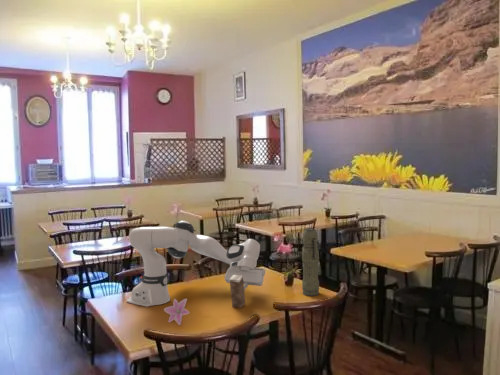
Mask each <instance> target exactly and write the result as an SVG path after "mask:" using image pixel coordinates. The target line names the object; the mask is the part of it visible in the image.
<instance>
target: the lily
mask: <svg viewBox="0 0 500 375" xmlns="http://www.w3.org/2000/svg"><path fill="white" fill-rule="evenodd" d="M187 301H188V298H184V299H182V300H180V301H178V300H177V299H176V298H174V299H173V303H172V304H173V305H170V306H167V307H164V309H163V311H164V312H165V313H166V314H168V315H169V317H168V321H167V322H169V323H171V322H173V321H175V322H176V323H177V324H178V326H180V325H181V324H182V320H183V316H185V315H188V314H190V311H189V310H188V309H187V308H185V307H186V304H187Z"/></svg>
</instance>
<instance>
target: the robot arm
mask: <svg viewBox="0 0 500 375" xmlns="http://www.w3.org/2000/svg"><path fill="white" fill-rule="evenodd" d="M195 232H196V230H195V228H194V226H193V224H192V223H190V222H189V221H187V220H179V221H176V223H175V224H174V227H172V226H171V227H170V226H140V227H134V228H132V229H131V230H130V232H129V234H128V242H129V244H130V246H131V247H132V248H134V249H135V250H136V251H138V253H139V254H140V256H141V258H142V261H143V271H144V274H142V275H141V276H140V278H139V279H140V280H141V281H140V282H139V283H138V284H137V285H136V286H134V287H133V288H132V290H131V294H130V296H129V297H127V299H126V303H129V304H133V305H138V306H143V307H152V306H158V305H163V304H166V303H168V302H170V301H171V296H170V294H169V293H170V292H169V288H168V272H167V261H166V258H165V256H164V255H162V254H160V253H158V252H157V251H156V250H155V249H166V250H167V252H168V254H169V255H170V256H172V257H173V258H174V259H182V258H185V257H186V255H187V254H188V249H189V248H190V249H191V250H192V251H193V252H196V254H197V253H198V254H200V255H203V256H205V257H209V258H213V259H214V260H218V261H220V262H223V263H225V264H227V265H229V267H228V268H227V270H226V273H225V275H224V281H225V282H226V283H228V284H230V278H231V277H232V276H233V275H241V276H243V284H244V291H246V289H247V288H248V286H256V287H257V286H258V287H262V285H263V284H264V276H265V275H266V270H265V268H262V267H261V268H259V267H257V260H258V259H259V257H260V250H261V245H260V243H259V241H257V240H256V239H253V238H247V239H246V240H245V241H244V242H242V243H239V244H233V245H230V246H229V247H228V249H226V248H224V246H223V244H221V243H220V242H219V241H218V240H216V238H214V237H211V236H208V235H203V234H196V233H195Z"/></svg>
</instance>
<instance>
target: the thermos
mask: <svg viewBox="0 0 500 375" xmlns="http://www.w3.org/2000/svg"><path fill="white" fill-rule="evenodd" d="M302 238H303V239H302V241H303V242H302V244H303V245H302V252H301V254H302V255H301V261H302V267H303V270H302V273H303V276H302V278H303V279H302V284H301V285H302V287H301V288H302V295H304V296H307V297H316V296H318V295H319V294H320V292H319V290H320V281H319V262H320V259H319V258H320V255H319V254H320V252H319V249H318V248H319V247H318V246H319V245H318V232H317V229H315V228H312V227H311V228H310V227H309V228H308V227H307V228H306V229H304V231H303V234H302Z"/></svg>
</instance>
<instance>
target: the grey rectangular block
mask: <svg viewBox="0 0 500 375" xmlns="http://www.w3.org/2000/svg"><path fill="white" fill-rule="evenodd" d="M229 286H230V296H231V304H232V305H231V306H232V308H239V309H242V308H243V307H244V305H245V304H246V296H245V290H244V284H243V276H241V275H233V276H232V277H231V278H230V283H229Z"/></svg>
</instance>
